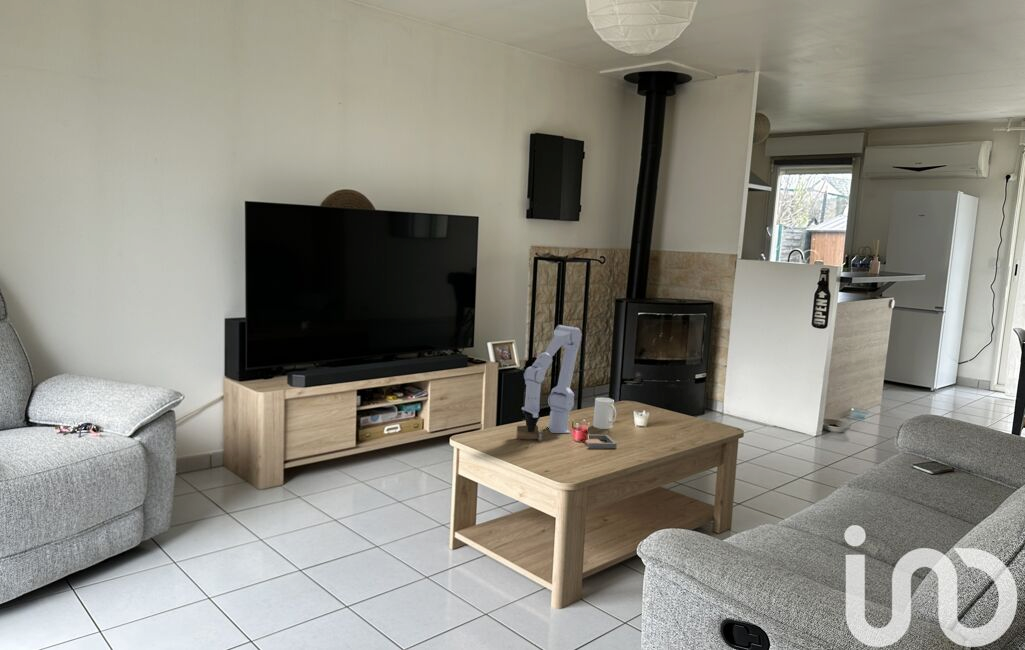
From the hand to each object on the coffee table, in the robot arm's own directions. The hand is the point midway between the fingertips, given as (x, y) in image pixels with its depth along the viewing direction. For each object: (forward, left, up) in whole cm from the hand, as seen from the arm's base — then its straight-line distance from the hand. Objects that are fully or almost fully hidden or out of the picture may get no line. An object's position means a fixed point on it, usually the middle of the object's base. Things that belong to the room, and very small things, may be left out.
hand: (530, 430), depth 283 cm
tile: (+5, +25, -4) cm, 25 cm away
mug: (-18, +37, -4) cm, 41 cm away
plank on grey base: (0, -1, -3) cm, 3 cm away
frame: (+6, +26, -3) cm, 27 cm away
